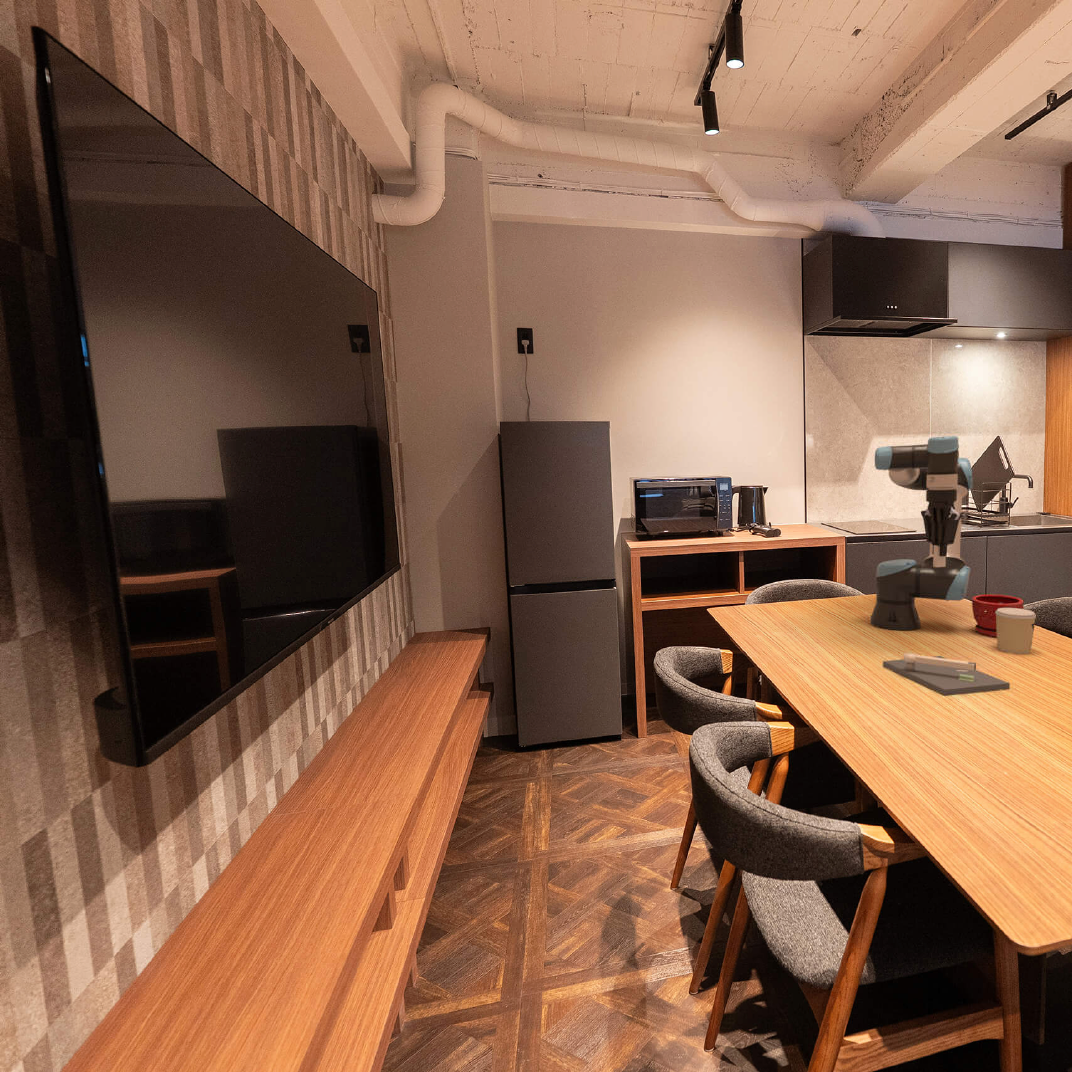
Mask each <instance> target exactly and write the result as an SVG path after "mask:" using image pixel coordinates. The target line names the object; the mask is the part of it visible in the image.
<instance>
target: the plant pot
mask: <svg viewBox="0 0 1072 1072" xmlns="http://www.w3.org/2000/svg"><path fill="white" fill-rule="evenodd" d="M971 598H972V599H971V608H972V614H973V618H974V621H975V622H976V624H975V627H974V628H975V630H976V631H977V632H978V633H980V634H983V635H986V636H990V637H996V638H997V628H996V613H995V612H996V611H997V609H999V608H1018V609H1024V600H1023V599H1021V598H1019V597H1016V596H1011V595H1004V594H980V595H976V596H973V597H971Z"/></svg>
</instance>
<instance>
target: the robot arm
mask: <svg viewBox="0 0 1072 1072" xmlns="http://www.w3.org/2000/svg"><path fill="white" fill-rule="evenodd" d="M959 449H960V445H959V438H958V436H957V435H949V436H948V435H947V436H945V435H944V436H933V437H932V436H931V437H929V438H928V440H927V443H925V444H912V445H895V446H894V445H892V446H890V445H887V446H879V447H877V448H876V449H875V452H874V467H875V469H876V470H879V471H888V477H889V480H890V481H891V482H892V483H894V484H895V485H897V486H898V487H902V488H904V489H907V490H913V491H926V492H925V501H926V502H927V503H928V504H927V509H925V510H921V511H920V515H921V517H922V519H923V526H924V531H925V538H926V542H927V543H929V555H928V556H927V557H926V558H924V560H923V564H917V562H916V560H915V559H908V558H905V559H892V560H886V561H882V562H880V563H879V564H878V565H877V567H876V574H875V577H876V596H875V597H876V601H875V605H874V608H873V611H872V613H871V615H870V621H869V622H871V623H870V624H871V625H872V624H873V625H872V626H874V627H877V626H878V627H877V628H880V627H882V629H884V630H885V629H886V630H892V629H893V631H913V630H918V629H919V628H921V619H920V617H919V616H920V615H919V613H918V610H917V608H916V603H915V602H916V599H917V598H918V599H927V600H929V599H930V600H940V601H948V602H949V601H959V602H960V601H962V600H964V599H965V598H966V596H967V591H968V586H969V580H970V575H971V568H970V567H969V566H967V565H966V561H965V560H964V559H962V557H961V538H962V537H961V533H962V518H963V513H962V509H963V508H962V507H963V498H964V497H966V496H967V495H968V491H970V490H973V487H974V484H973V483H974V480H973V470H972V464H971V461H970V460H969V458H967V457H960V454H959V453H960V452H959Z"/></svg>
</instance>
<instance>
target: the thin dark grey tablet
mask: <svg viewBox="0 0 1072 1072" xmlns="http://www.w3.org/2000/svg"><path fill="white" fill-rule="evenodd" d="M932 657H936V658H944V659H948V658H947V657H944V656H941V655H936V656H932ZM882 667H884V668H885V669H888V670H889V671H892V672H894V673H896V674H898V675H900V676H902V677H904V678H907V679H909V680H911V681H913V682H915V683H918V684H920V685H922V686H924V687H925V688H928V689H930V690H933V691H935V692H937V693H938V694H940V695H943V696H951V695H960V694H961V695H963V694H971V693H981V692H982V691H983V692H989V691H990V692H991V691H1001V690H1000V689H1003V690H1009V689H1010V686H1011V685H1010V684H1011V683H1010V682H1008V681H1005V680H1003V679H1000V678H998V677H995V676H993V675H989V674H988V673H985V672H982V671H980V670H977V669H976V670H968V669H960V668H953V667H946V666H939V665H932V664H924V663H909V662H905V661H904V658H903V659H894V660H883V661H882Z"/></svg>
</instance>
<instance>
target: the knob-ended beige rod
mask: <svg viewBox="0 0 1072 1072" xmlns="http://www.w3.org/2000/svg"><path fill="white" fill-rule="evenodd" d="M944 658H945V657H944ZM944 658H936V657H933V656H928V655H921V654H920V655H919V654H917V653H914V652H904V653H903V659H904V661H905V662H909V663H924V664H932V665H939V666H946V667H953V668H960V669H968V670H977V663H976V662H972V661H966V660H965V661H964V660H958V659H950V658H947V659H944Z"/></svg>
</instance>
